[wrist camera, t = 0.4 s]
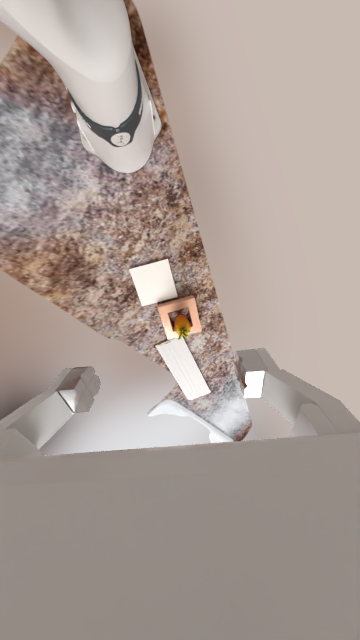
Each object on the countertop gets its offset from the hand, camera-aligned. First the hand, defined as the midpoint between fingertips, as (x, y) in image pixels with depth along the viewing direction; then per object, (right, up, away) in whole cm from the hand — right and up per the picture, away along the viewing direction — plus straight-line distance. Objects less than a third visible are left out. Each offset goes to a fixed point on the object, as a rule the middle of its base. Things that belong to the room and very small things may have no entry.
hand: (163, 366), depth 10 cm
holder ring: (+1, +4, +49) cm, 49 cm away
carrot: (+1, +4, +49) cm, 49 cm away
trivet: (-7, +14, +44) cm, 47 cm away
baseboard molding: (+2, -17, +59) cm, 61 cm away
